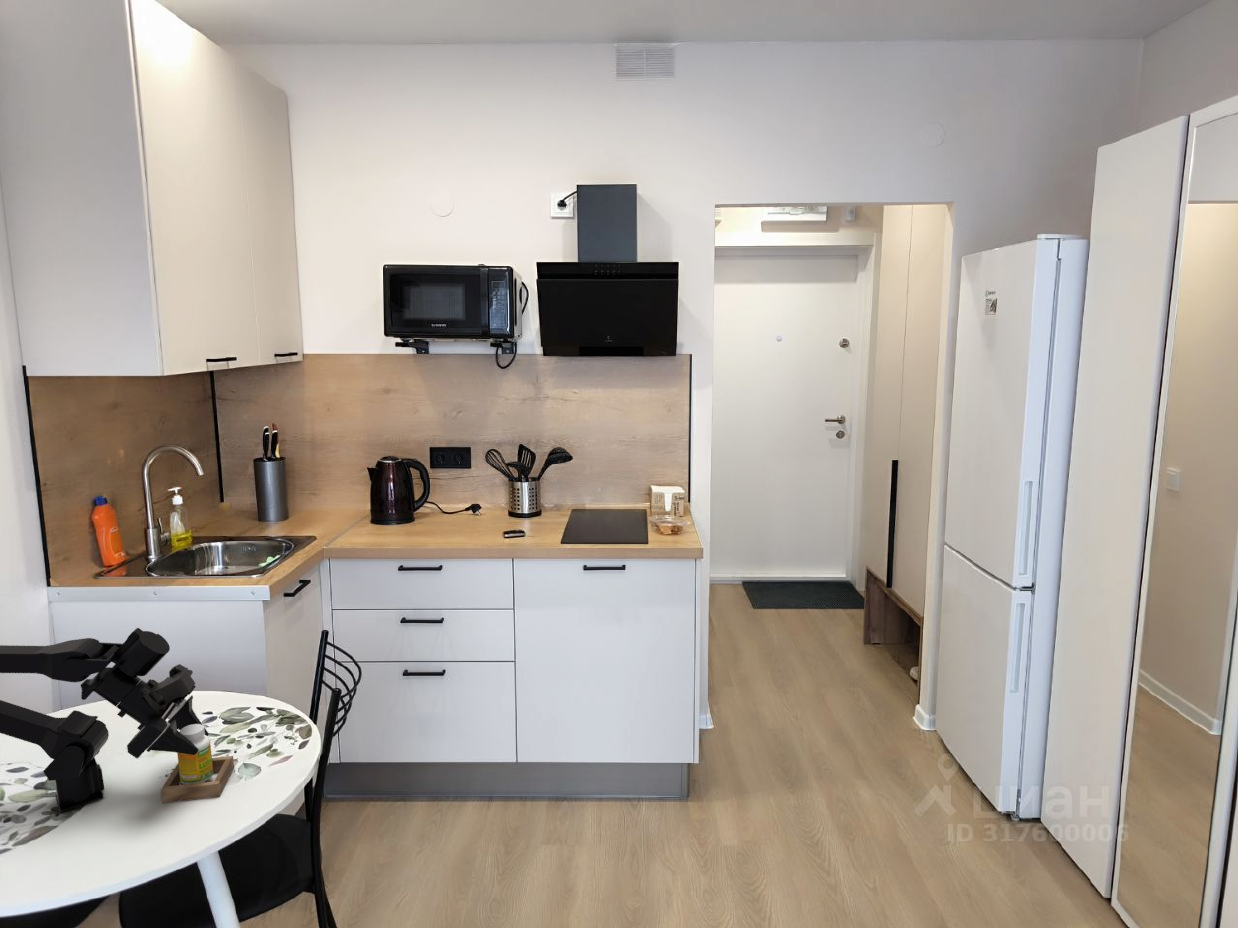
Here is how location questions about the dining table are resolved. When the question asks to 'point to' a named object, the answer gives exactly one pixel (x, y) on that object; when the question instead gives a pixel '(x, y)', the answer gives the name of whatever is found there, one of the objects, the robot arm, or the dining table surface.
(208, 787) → the walnut collar
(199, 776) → the supplement bottle
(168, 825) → the dining table surface
